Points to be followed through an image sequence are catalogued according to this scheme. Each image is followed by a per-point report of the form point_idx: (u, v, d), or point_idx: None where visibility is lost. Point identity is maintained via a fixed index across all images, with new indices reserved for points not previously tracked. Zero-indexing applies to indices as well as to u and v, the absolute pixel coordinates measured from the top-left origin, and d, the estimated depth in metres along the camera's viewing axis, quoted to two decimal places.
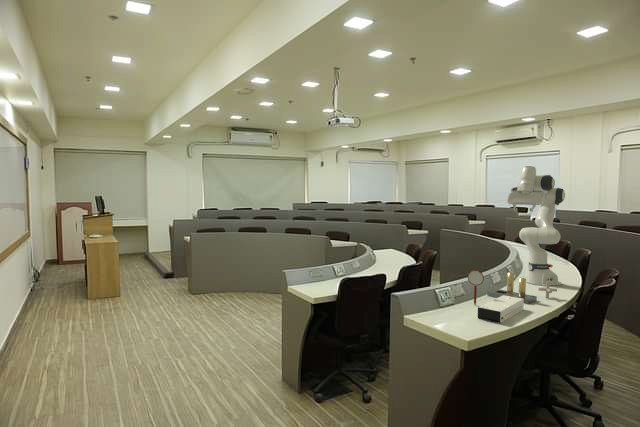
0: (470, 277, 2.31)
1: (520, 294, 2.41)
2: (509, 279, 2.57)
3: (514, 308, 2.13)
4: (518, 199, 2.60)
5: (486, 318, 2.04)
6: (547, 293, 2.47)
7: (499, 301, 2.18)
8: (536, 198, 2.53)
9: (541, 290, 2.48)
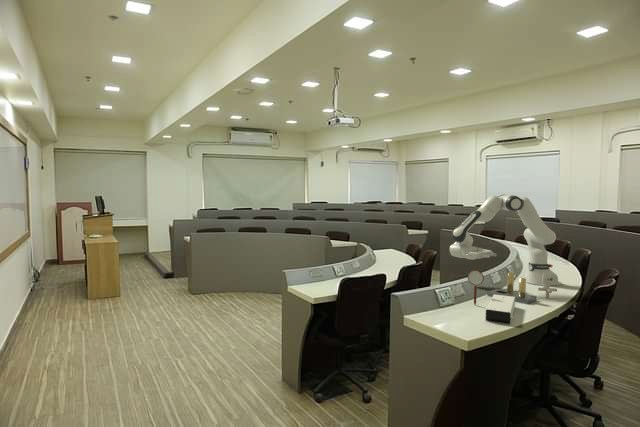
0: (470, 277, 2.31)
1: (520, 294, 2.41)
2: (509, 279, 2.57)
3: (513, 307, 2.15)
4: None
5: (495, 320, 2.01)
6: (547, 293, 2.47)
7: (497, 301, 2.18)
8: None
9: (541, 290, 2.48)
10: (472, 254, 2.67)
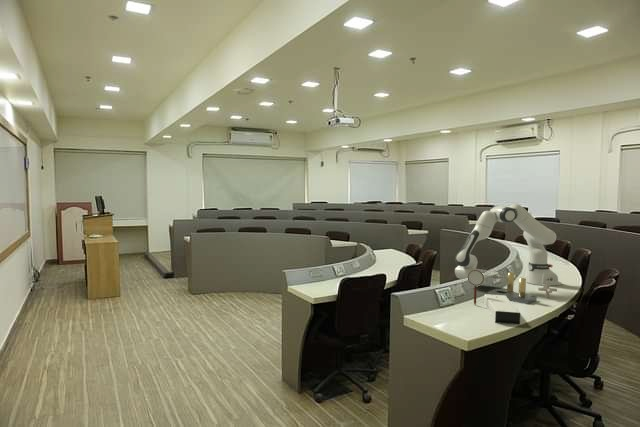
0: (470, 277, 2.31)
1: (520, 294, 2.41)
2: (509, 279, 2.57)
3: None
4: None
5: (505, 321, 2.00)
6: (547, 293, 2.47)
7: (496, 301, 2.18)
8: None
9: (541, 290, 2.48)
10: None
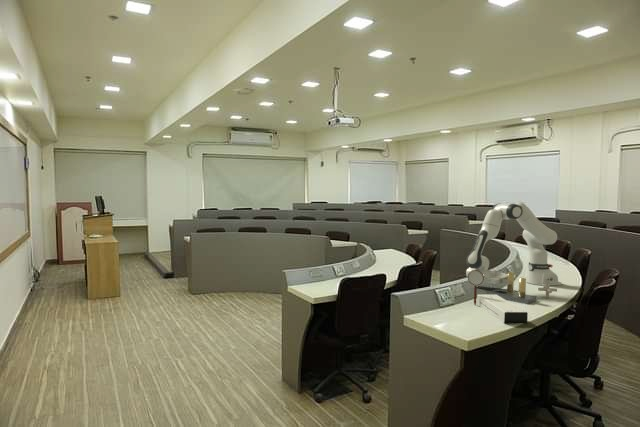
0: (470, 277, 2.31)
1: (520, 294, 2.41)
2: (509, 279, 2.57)
3: None
4: None
5: (513, 321, 1.99)
6: (547, 293, 2.47)
7: (495, 301, 2.17)
8: None
9: (541, 290, 2.48)
10: (491, 280, 2.58)
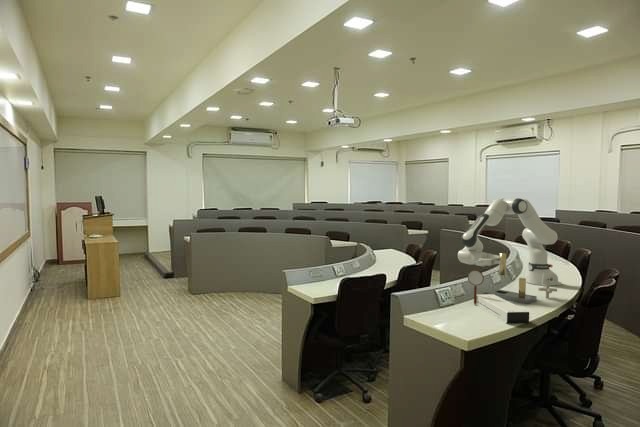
0: (470, 277, 2.31)
1: (520, 294, 2.41)
2: (501, 260, 2.49)
3: None
4: None
5: (515, 321, 1.99)
6: (547, 293, 2.47)
7: (495, 301, 2.17)
8: None
9: (541, 290, 2.48)
10: (482, 261, 2.49)
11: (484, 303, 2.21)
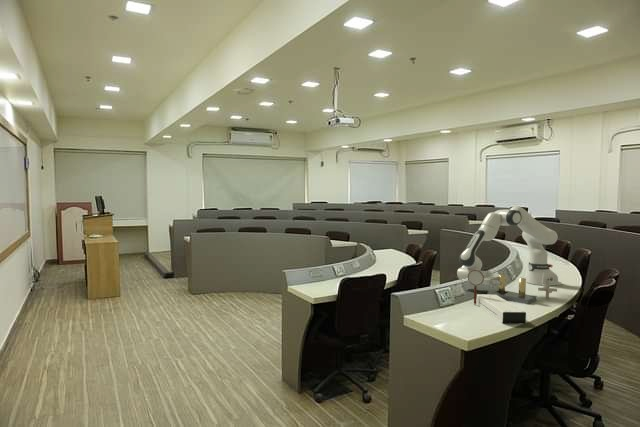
0: (470, 277, 2.31)
1: (520, 294, 2.41)
2: None
3: None
4: None
5: (511, 321, 1.99)
6: (547, 293, 2.47)
7: (494, 301, 2.17)
8: None
9: (541, 290, 2.48)
10: None
11: (484, 303, 2.22)
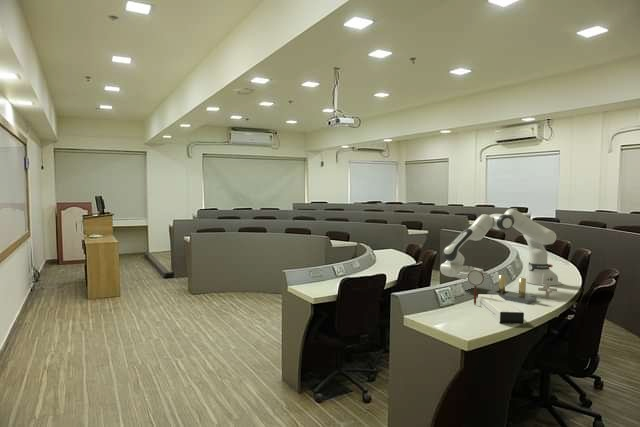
0: (470, 277, 2.31)
1: (520, 294, 2.41)
2: (500, 282, 2.49)
3: None
4: None
5: (509, 321, 1.99)
6: (547, 293, 2.47)
7: (494, 301, 2.17)
8: None
9: (541, 290, 2.48)
10: (462, 274, 2.60)
11: (484, 303, 2.22)
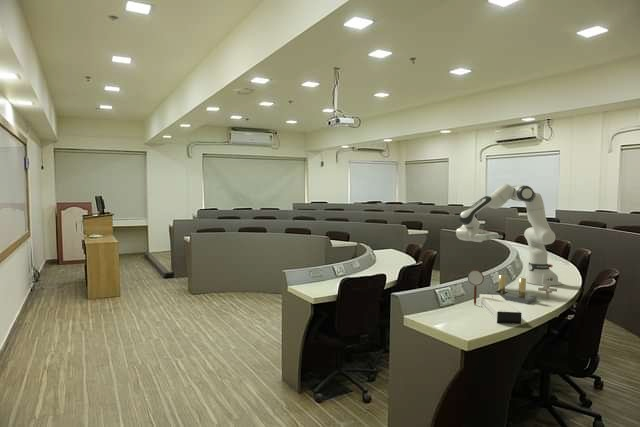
0: (470, 277, 2.31)
1: (520, 294, 2.41)
2: (500, 282, 2.49)
3: None
4: None
5: (506, 321, 1.99)
6: (547, 293, 2.47)
7: (494, 301, 2.17)
8: None
9: (541, 290, 2.48)
10: (478, 236, 2.69)
11: (484, 302, 2.22)
